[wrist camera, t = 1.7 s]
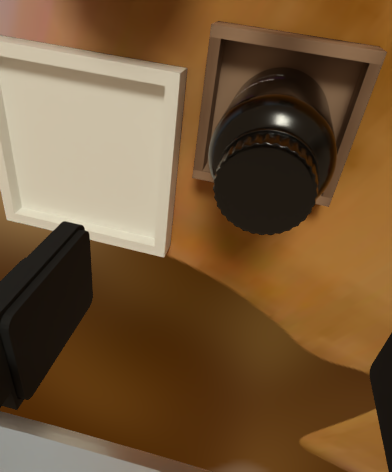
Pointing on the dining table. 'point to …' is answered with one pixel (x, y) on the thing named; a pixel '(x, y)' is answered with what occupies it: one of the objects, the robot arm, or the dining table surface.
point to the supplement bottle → (273, 152)
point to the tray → (90, 142)
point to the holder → (291, 56)
